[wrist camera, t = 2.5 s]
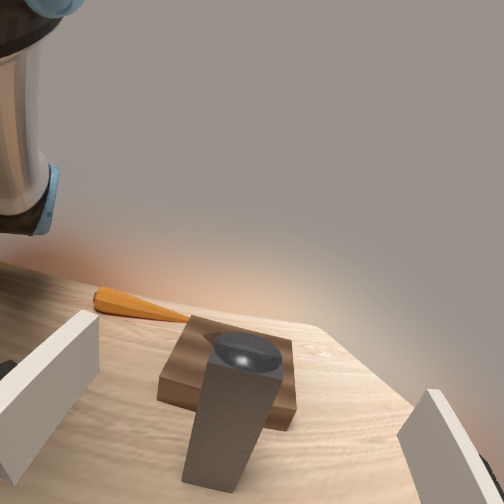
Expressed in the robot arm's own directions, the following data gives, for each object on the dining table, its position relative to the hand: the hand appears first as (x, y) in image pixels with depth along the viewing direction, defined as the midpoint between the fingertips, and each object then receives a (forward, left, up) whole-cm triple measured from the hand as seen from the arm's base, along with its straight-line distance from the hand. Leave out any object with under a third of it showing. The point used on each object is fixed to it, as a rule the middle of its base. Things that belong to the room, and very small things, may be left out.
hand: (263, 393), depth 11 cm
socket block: (-20, +17, -21) cm, 33 cm away
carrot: (-38, +11, -21) cm, 45 cm away
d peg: (-8, +6, -21) cm, 23 cm away
